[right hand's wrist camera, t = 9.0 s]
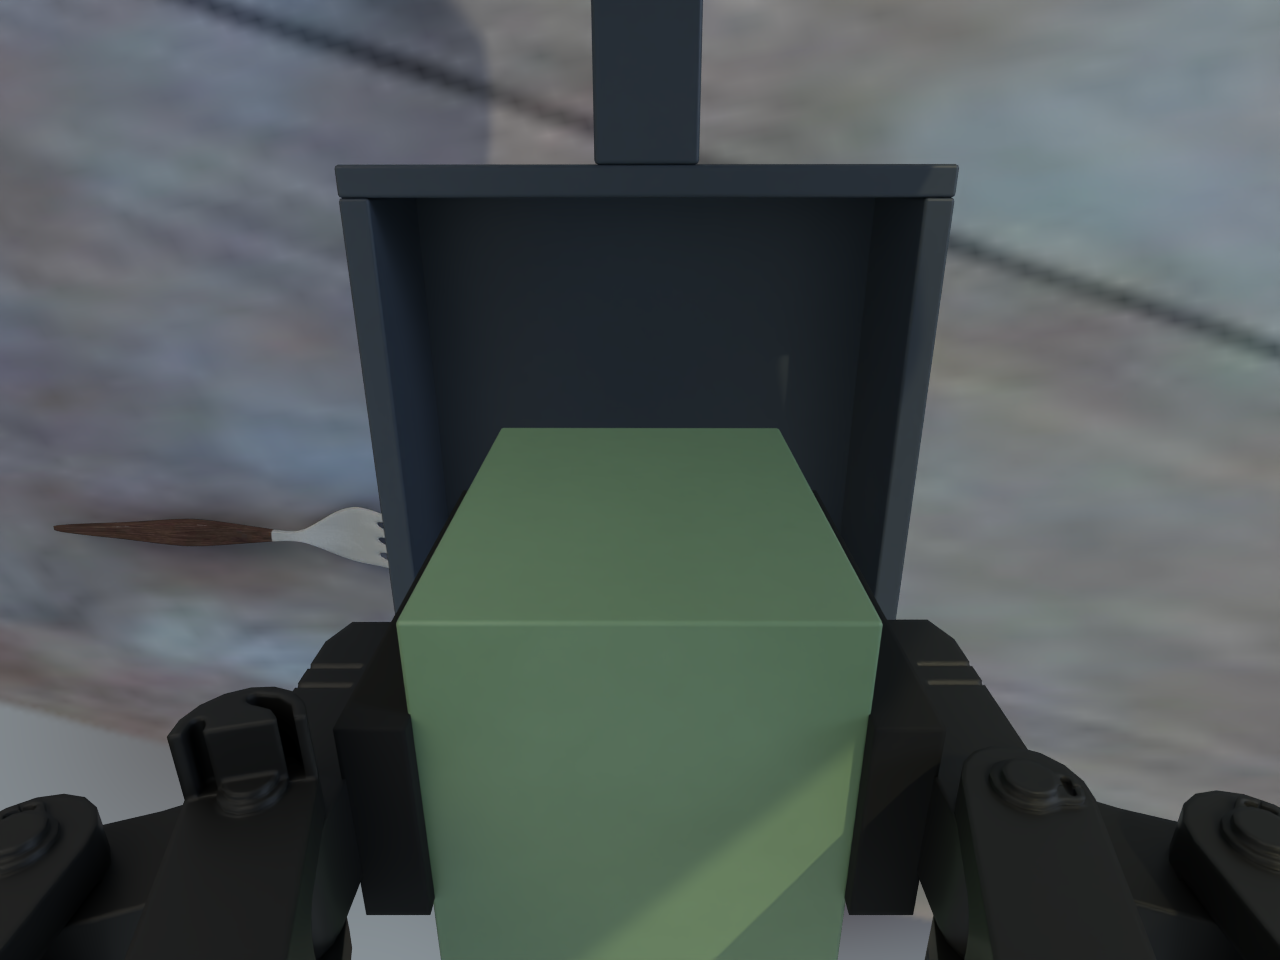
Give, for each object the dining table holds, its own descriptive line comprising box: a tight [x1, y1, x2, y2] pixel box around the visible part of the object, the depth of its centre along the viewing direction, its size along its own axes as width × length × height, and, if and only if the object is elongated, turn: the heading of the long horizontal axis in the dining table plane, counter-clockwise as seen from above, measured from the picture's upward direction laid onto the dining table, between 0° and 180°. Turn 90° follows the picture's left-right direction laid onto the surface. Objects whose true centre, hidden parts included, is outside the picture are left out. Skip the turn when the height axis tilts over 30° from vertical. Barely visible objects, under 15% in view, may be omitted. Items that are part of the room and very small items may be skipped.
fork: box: [54, 507, 389, 568], centre depth 32 cm, size 3×16×2 cm, turn 88°
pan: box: [335, 0, 959, 620], centre depth 16 cm, size 25×12×4 cm, turn 0°
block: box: [396, 428, 883, 960], centre depth 12 cm, size 5×5×6 cm
